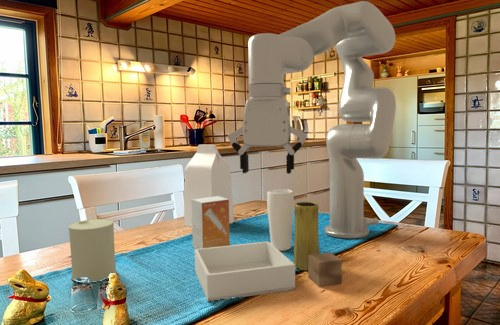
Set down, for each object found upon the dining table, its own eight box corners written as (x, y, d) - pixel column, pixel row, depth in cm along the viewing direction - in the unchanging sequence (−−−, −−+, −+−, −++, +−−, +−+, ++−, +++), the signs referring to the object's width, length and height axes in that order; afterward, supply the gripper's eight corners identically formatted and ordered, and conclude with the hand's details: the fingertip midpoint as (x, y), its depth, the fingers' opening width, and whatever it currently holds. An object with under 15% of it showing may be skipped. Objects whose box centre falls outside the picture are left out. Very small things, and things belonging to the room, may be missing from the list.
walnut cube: (330, 275, 85) (330, 252, 84) (341, 284, 80) (341, 259, 80) (308, 278, 83) (308, 255, 83) (319, 287, 79) (318, 262, 78)
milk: (183, 225, 129) (180, 145, 126) (205, 218, 139) (203, 143, 136) (213, 230, 122) (211, 146, 120) (234, 222, 132) (232, 143, 130)
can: (97, 265, 94) (95, 215, 92) (125, 272, 89) (122, 219, 88) (62, 278, 86) (58, 224, 85) (90, 287, 81) (87, 229, 80)
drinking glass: (297, 246, 105) (296, 189, 104) (289, 253, 99) (288, 194, 98) (273, 243, 108) (272, 188, 106) (263, 250, 102) (262, 192, 100)
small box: (203, 253, 101) (201, 202, 99) (192, 247, 106) (190, 199, 105) (230, 247, 105) (229, 198, 104) (219, 241, 110) (217, 195, 109)
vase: (314, 272, 86) (313, 207, 85) (288, 267, 89) (287, 205, 88) (324, 264, 91) (324, 202, 90) (300, 259, 94) (299, 200, 93)
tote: (268, 262, 93) (268, 241, 93) (295, 289, 78) (295, 264, 77) (195, 271, 88) (194, 249, 88) (207, 301, 73) (207, 275, 72)
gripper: (307, 94, 88) (307, 171, 89) (231, 96, 91) (232, 170, 93) (305, 91, 81) (305, 175, 82) (222, 93, 84) (224, 174, 85)
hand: (267, 172), depth 87 cm, fingers open, 9 cm apart
